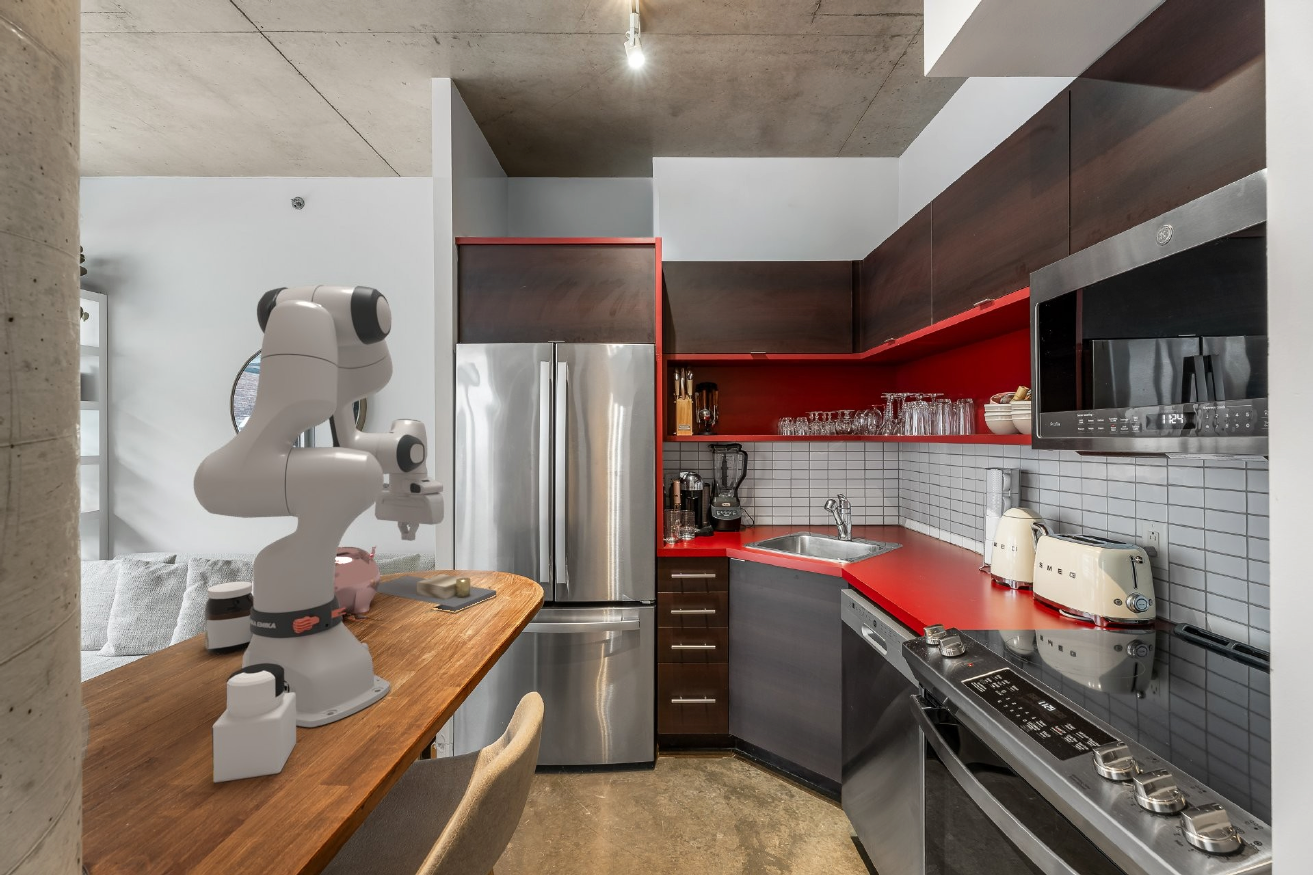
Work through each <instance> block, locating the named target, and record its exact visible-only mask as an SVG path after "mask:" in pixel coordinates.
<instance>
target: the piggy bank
mask: <svg viewBox="0 0 1313 875" xmlns="http://www.w3.org/2000/svg"><path fill="white" fill-rule="evenodd" d="M376 549H377V546H372V548H371V552H370V553H369V552H368V551H366V550H365V549H364V548H363V549H362V548H360V547H354V546H338V550H337V555H336V564H335V579H334V595H335V596H336V597H337V600H338V603H339V604H340V608H343V607H345V608H346V609H344V610H343V611H341V613H346V614H344V615H342V617H343V616H346V615H350V614H351V615H352V614H353V618H354V620H358V621H359V620H364V619H365V620H366V619H368V618H369V616H365V615H361V614H362V613H367V612H368V611H370V610H371V609H370V604H371V602H372V600H373V598H374V597H375V595H376V593H378V592H377V589H378V586H379V584H380V581H381V573H380V569H379V566H378V563H377V562H376V560H375V558H374V557H375V555H376Z"/></svg>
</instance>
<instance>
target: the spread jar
mask: <svg viewBox="0 0 1313 875" xmlns="http://www.w3.org/2000/svg"><path fill="white" fill-rule="evenodd" d="M252 591H253V582H250V581H230V582H225V583H220V584H216V585H213V586H210V587H208V588H207V598H208V599H207V600H206V603H205V607H204V608H205V609H204V638H205V642H204V643H205V644H204V645H205V649H206V651H207V653H209V654H210V655H228V654H233V653H238V652H241V651H245V650H247V648H248V646H249V644H250V641H251V639H252V636H253V633H252V632H251V631H250V622H249V616H250V609H251V607H252V606H253V605H254V604H253V593H252Z"/></svg>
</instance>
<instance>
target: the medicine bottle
mask: <svg viewBox="0 0 1313 875" xmlns="http://www.w3.org/2000/svg"><path fill="white" fill-rule="evenodd" d="M225 682H226V688H225V689H226V710H224V712H223V713H222V714H221V716H219V717H218V718H217V720H216V721H215V722H214V723H213V725H212V733H211V734H212V736H211V737H212V781H213V783H222V782H229V781H235V780H243V779H248V778H255V777H262V776H269V775H275V774H279V773H280V772H281V771H282V770H283V767H285V766H284V765H285V764H286V762H287V760H288V758H290V755H291V753H292V752H293V749H294V747H295V746H296V744H297V725H296V694H295V693H294V692H292V693H284V668H283V667H282V666H280V665H278V664H271V663H261V664H255V665H251V666H247V667H244V668H242V667H241V668H239V669H238V670H236V671H235V672H232V673H231V674H230V675H229V676H228V678H227V679H226V681H225Z"/></svg>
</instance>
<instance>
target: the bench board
mask: <svg viewBox="0 0 1313 875" xmlns="http://www.w3.org/2000/svg"><path fill="white" fill-rule="evenodd" d="M425 579H426V578H423V577H419V576H418V577H417V576H412V575H404V576H402V577H397V578H396V579H395V578H394V579H391V580H388V581H384V582H382V583H379V586H378V589H377V592H376V593H378V594H384V595H389V596H395V597H400V598H404V599H405V598H406V599H410V600H416V601H420V602H425V603H431V604H436V606H434V607H432V608H438V609H442V610H450V611H454V612H455V611H456V610H460V609H462V608H465V607H467V606H470V605H472V604H475V603H477V602H480V601H482V600H485V599H487V598H490V597H492V596H494V595H496V596H497V590H494V589H489V588H483V587H476V586H472V585H470V597H467V598H457V597H456V596H454V597H451V598H449V599H446V600H445V599H440V598H434V597H429V596H423V595H418V594H417V582H418V581H422V580H425Z"/></svg>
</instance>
